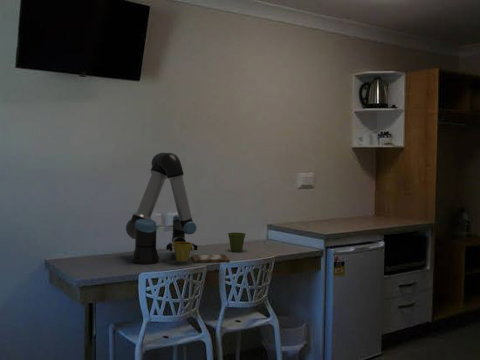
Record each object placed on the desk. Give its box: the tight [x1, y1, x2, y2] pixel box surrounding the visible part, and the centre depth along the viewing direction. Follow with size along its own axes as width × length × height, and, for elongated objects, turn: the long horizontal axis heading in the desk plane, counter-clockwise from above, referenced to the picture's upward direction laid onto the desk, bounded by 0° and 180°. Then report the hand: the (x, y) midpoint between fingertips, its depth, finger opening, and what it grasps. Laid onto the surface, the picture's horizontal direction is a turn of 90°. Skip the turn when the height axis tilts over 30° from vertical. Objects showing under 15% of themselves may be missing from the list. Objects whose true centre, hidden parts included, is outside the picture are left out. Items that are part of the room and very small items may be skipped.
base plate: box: [191, 254, 231, 264], centre depth 296 cm, size 20×16×2 cm
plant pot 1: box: [172, 241, 193, 262], centre depth 285 cm, size 10×10×10 cm
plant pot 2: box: [227, 231, 247, 253], centre depth 327 cm, size 12×12×11 cm
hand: (183, 250), depth 281 cm, fingers closed on plant pot 1, 10 cm apart
